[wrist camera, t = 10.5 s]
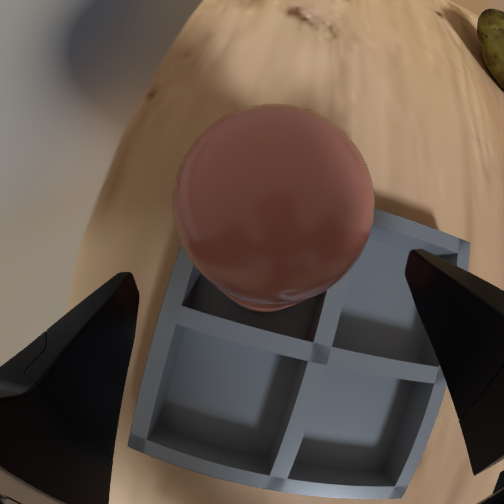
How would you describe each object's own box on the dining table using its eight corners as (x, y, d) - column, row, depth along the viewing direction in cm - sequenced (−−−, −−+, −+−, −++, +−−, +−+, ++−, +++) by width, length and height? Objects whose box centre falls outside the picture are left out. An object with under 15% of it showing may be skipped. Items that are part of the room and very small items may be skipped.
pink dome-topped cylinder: (325, 283, 18) (453, 209, 5) (246, 329, 18) (224, 354, 5) (280, 208, 19) (313, 40, 6) (203, 250, 19) (113, 123, 6)
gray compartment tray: (385, 479, 15) (401, 498, 13) (144, 430, 17) (127, 446, 14) (446, 252, 19) (469, 242, 16) (215, 185, 20) (209, 164, 17)
